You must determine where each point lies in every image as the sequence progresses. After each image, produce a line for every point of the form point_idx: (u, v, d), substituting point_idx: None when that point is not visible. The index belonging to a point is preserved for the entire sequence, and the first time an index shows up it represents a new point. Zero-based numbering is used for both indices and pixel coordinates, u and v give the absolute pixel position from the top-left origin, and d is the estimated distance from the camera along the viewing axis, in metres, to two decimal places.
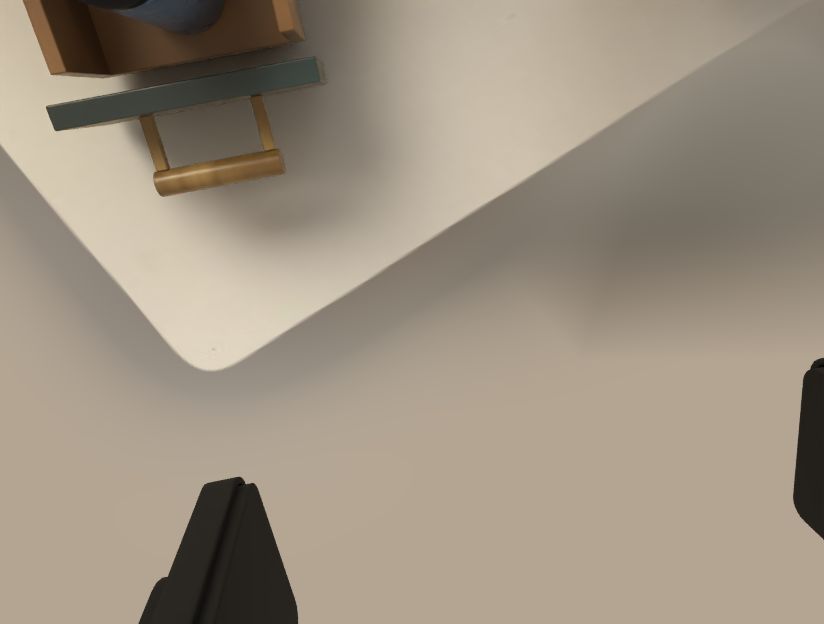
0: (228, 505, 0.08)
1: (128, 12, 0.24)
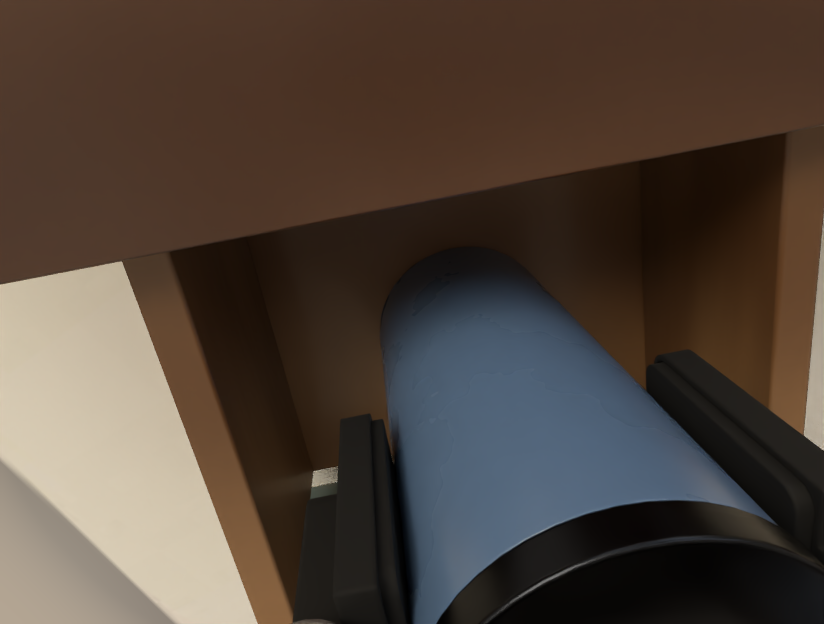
0: (369, 434, 0.09)
1: None
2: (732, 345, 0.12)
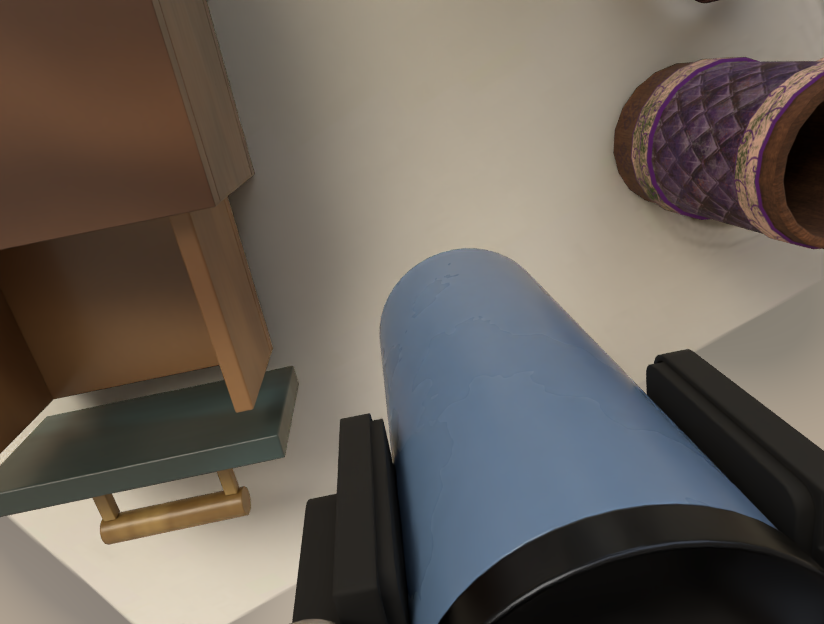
0: (368, 434, 0.09)
1: None
2: None
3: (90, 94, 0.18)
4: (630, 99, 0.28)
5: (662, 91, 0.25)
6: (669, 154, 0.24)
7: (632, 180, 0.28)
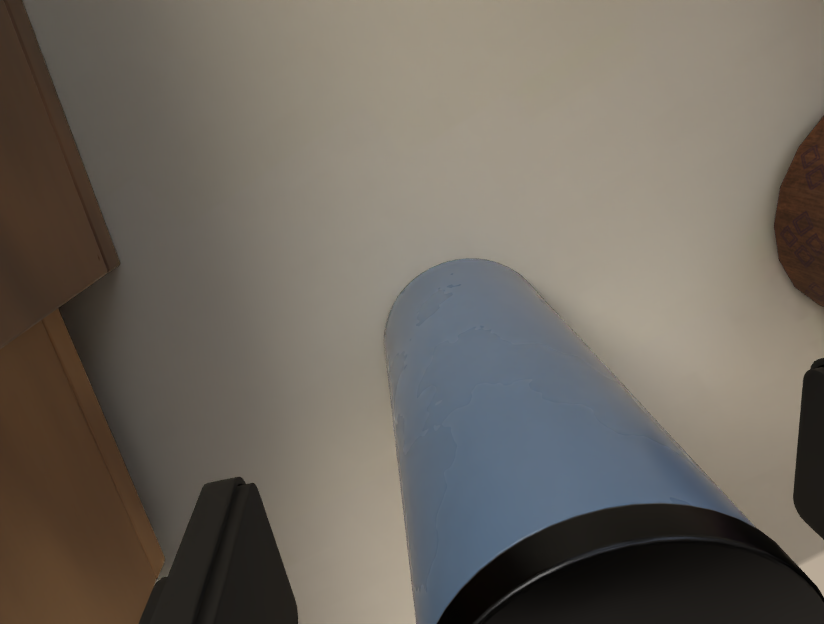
0: (228, 505, 0.08)
1: None
2: None
3: None
4: (816, 132, 0.15)
5: None
6: None
7: (813, 278, 0.16)
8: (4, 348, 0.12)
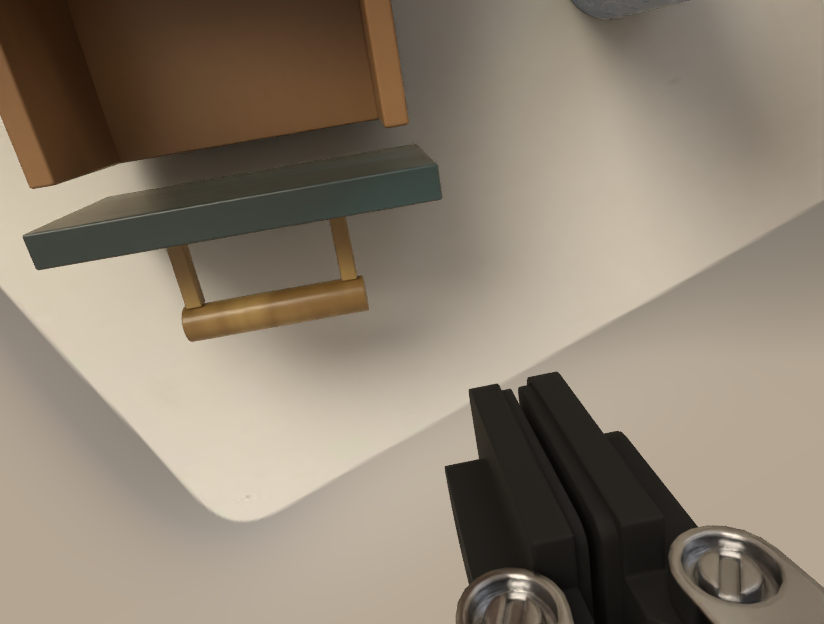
0: (504, 402, 0.10)
1: None
2: None
3: None
4: None
5: None
6: None
7: None
8: None
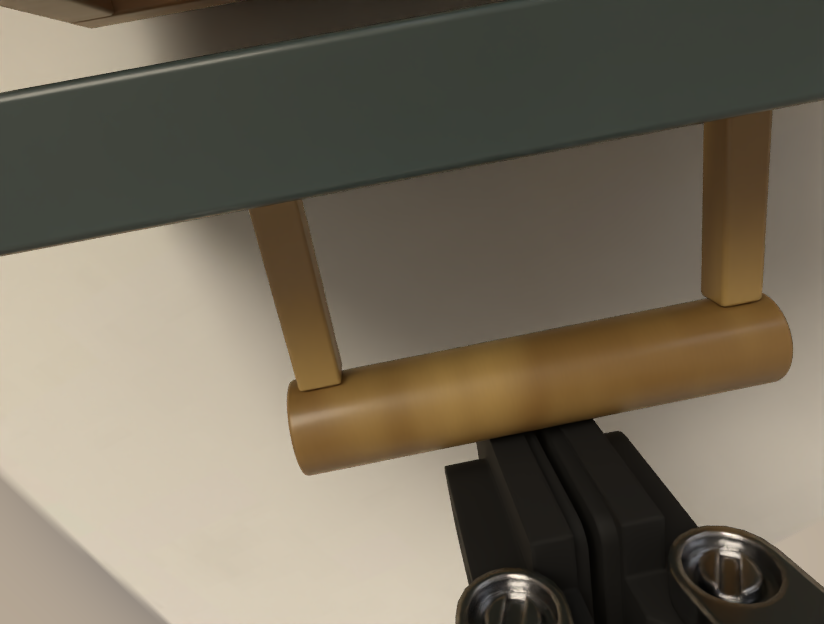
0: None
1: None
2: None
3: None
4: None
5: None
6: None
7: None
8: None
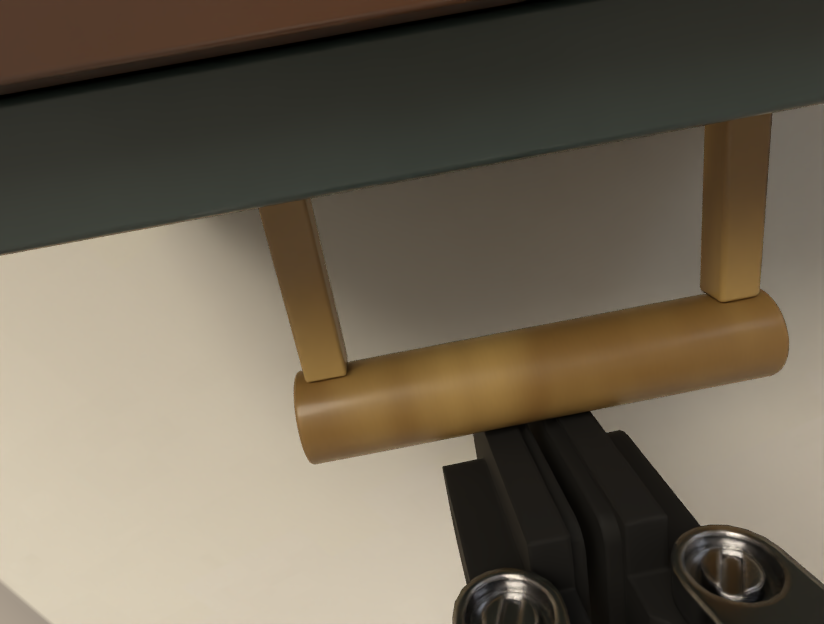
0: None
1: None
2: None
3: None
4: None
5: None
6: None
7: None
8: None
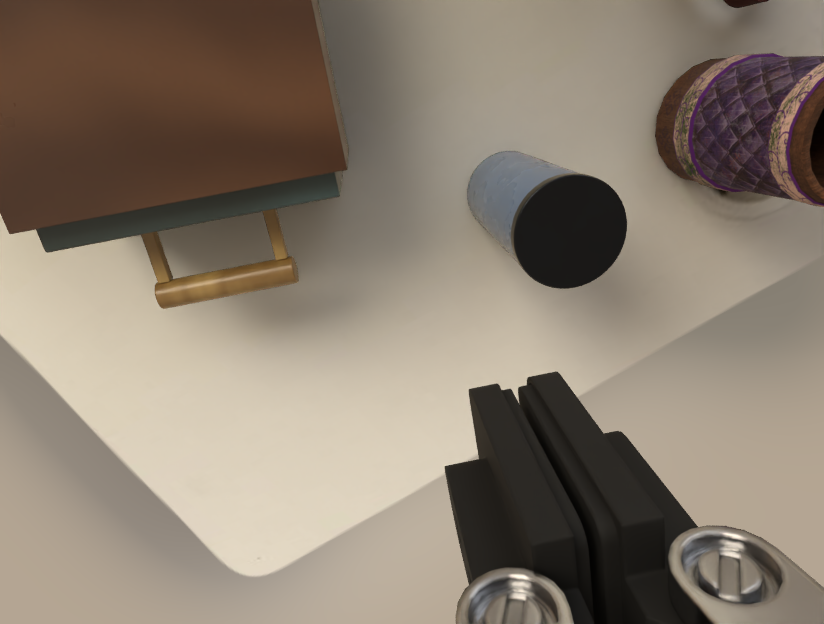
0: (504, 402, 0.10)
1: None
2: None
3: (256, 76, 0.23)
4: (671, 89, 0.33)
5: (702, 82, 0.30)
6: (709, 134, 0.29)
7: (672, 159, 0.33)
8: None
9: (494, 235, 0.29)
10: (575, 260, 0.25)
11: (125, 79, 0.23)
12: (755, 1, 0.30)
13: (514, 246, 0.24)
